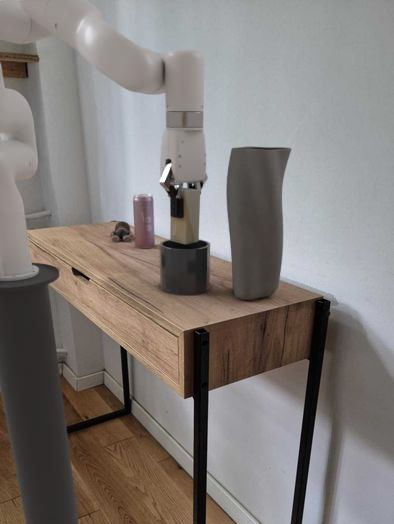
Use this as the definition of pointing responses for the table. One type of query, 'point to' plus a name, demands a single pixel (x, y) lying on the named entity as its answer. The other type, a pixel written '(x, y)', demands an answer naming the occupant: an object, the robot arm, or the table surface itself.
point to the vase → (256, 218)
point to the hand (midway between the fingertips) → (184, 214)
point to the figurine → (121, 232)
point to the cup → (184, 267)
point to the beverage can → (143, 220)
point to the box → (187, 219)
